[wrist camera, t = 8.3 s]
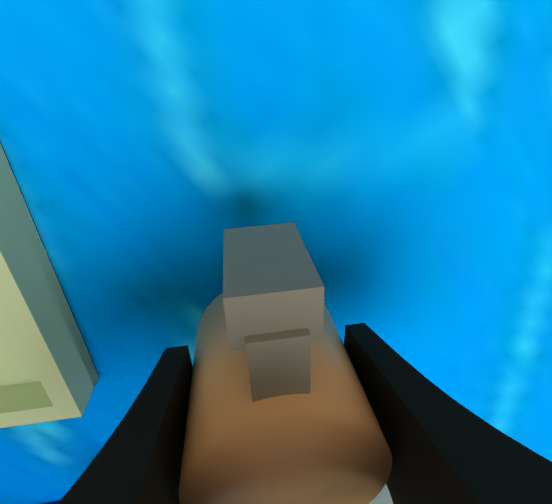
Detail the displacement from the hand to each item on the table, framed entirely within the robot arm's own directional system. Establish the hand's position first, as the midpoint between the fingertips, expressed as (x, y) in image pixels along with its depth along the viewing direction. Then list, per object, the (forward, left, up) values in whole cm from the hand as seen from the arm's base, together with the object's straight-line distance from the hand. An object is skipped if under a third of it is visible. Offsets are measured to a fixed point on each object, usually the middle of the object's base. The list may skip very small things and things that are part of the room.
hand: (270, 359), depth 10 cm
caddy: (0, +1, -1) cm, 2 cm away
